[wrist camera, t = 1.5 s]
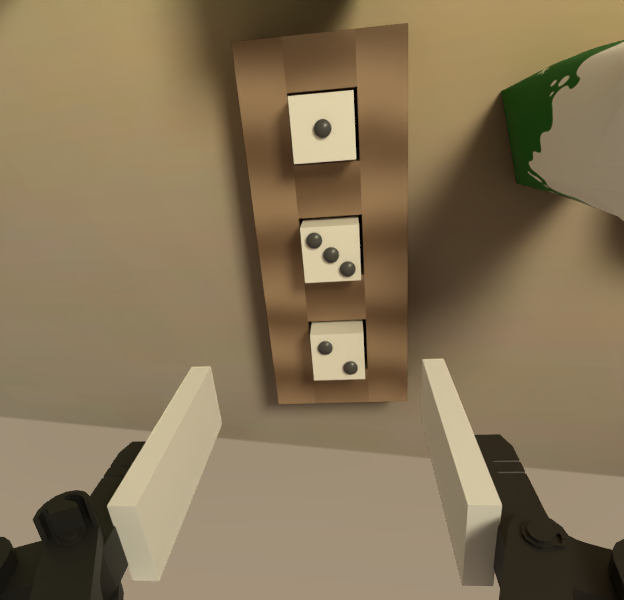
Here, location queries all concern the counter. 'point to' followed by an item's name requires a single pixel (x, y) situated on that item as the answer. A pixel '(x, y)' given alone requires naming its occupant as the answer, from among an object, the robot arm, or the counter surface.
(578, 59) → the milk carton
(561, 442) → the counter surface
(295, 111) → the button one
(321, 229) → the button three
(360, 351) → the button two
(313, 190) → the button panel
